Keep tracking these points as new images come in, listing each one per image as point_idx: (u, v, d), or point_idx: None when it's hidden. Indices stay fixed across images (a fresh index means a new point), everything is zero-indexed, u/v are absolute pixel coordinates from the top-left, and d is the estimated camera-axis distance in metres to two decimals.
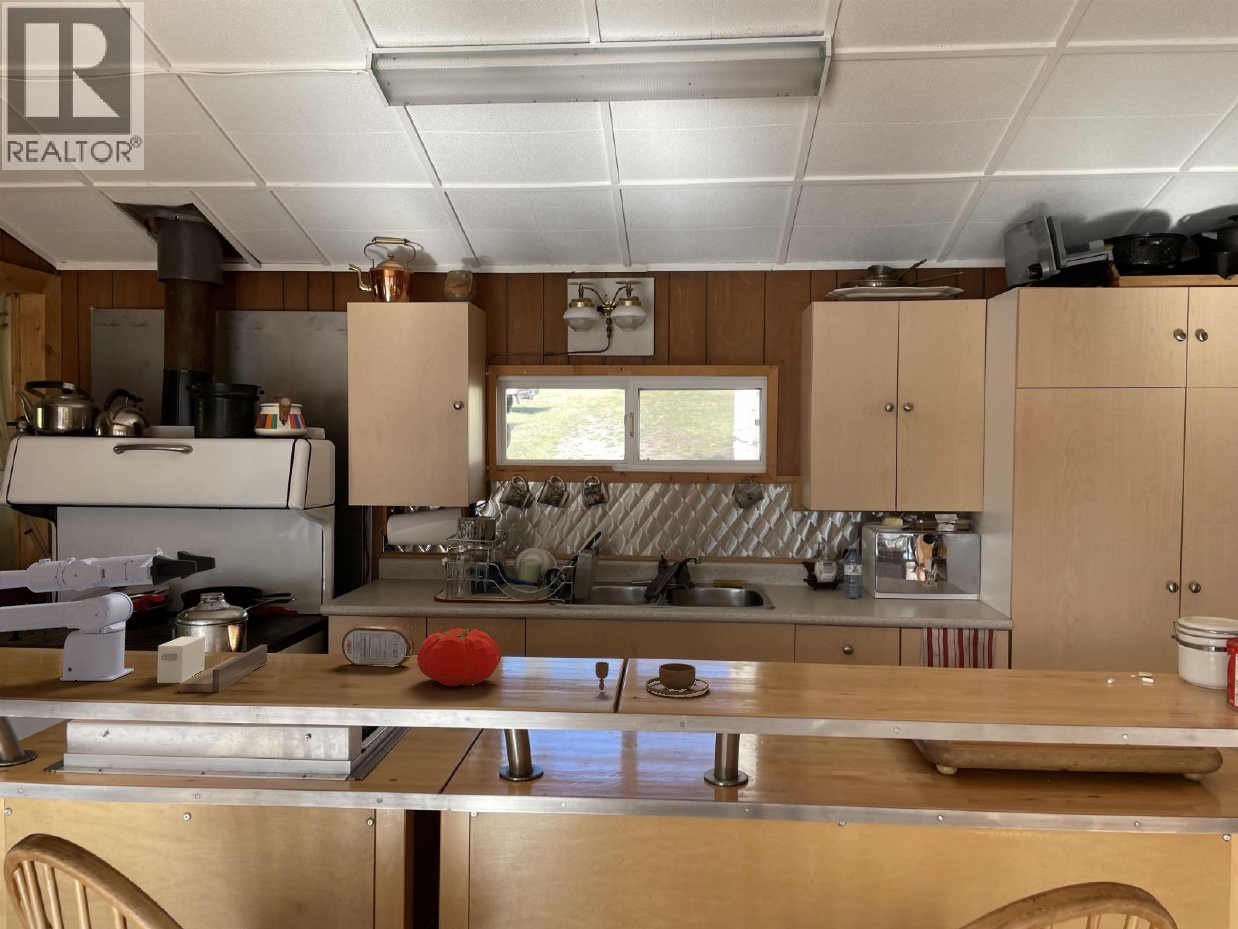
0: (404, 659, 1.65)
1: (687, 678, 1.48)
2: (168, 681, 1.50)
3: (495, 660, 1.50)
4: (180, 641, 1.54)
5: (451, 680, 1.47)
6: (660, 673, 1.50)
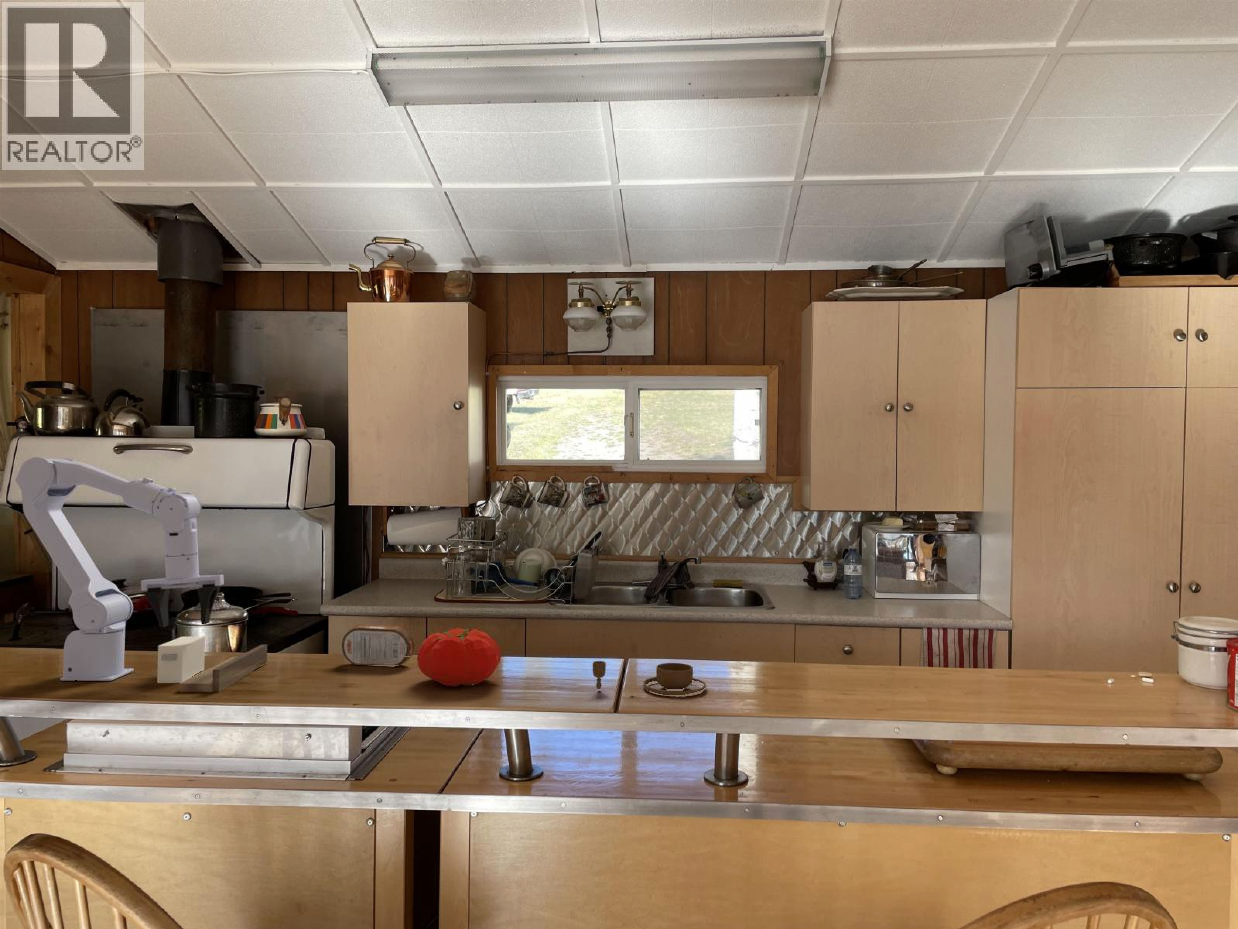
0: (404, 659, 1.65)
1: (684, 678, 1.48)
2: (168, 681, 1.50)
3: (495, 660, 1.50)
4: (180, 641, 1.54)
5: (451, 680, 1.47)
6: (657, 672, 1.50)
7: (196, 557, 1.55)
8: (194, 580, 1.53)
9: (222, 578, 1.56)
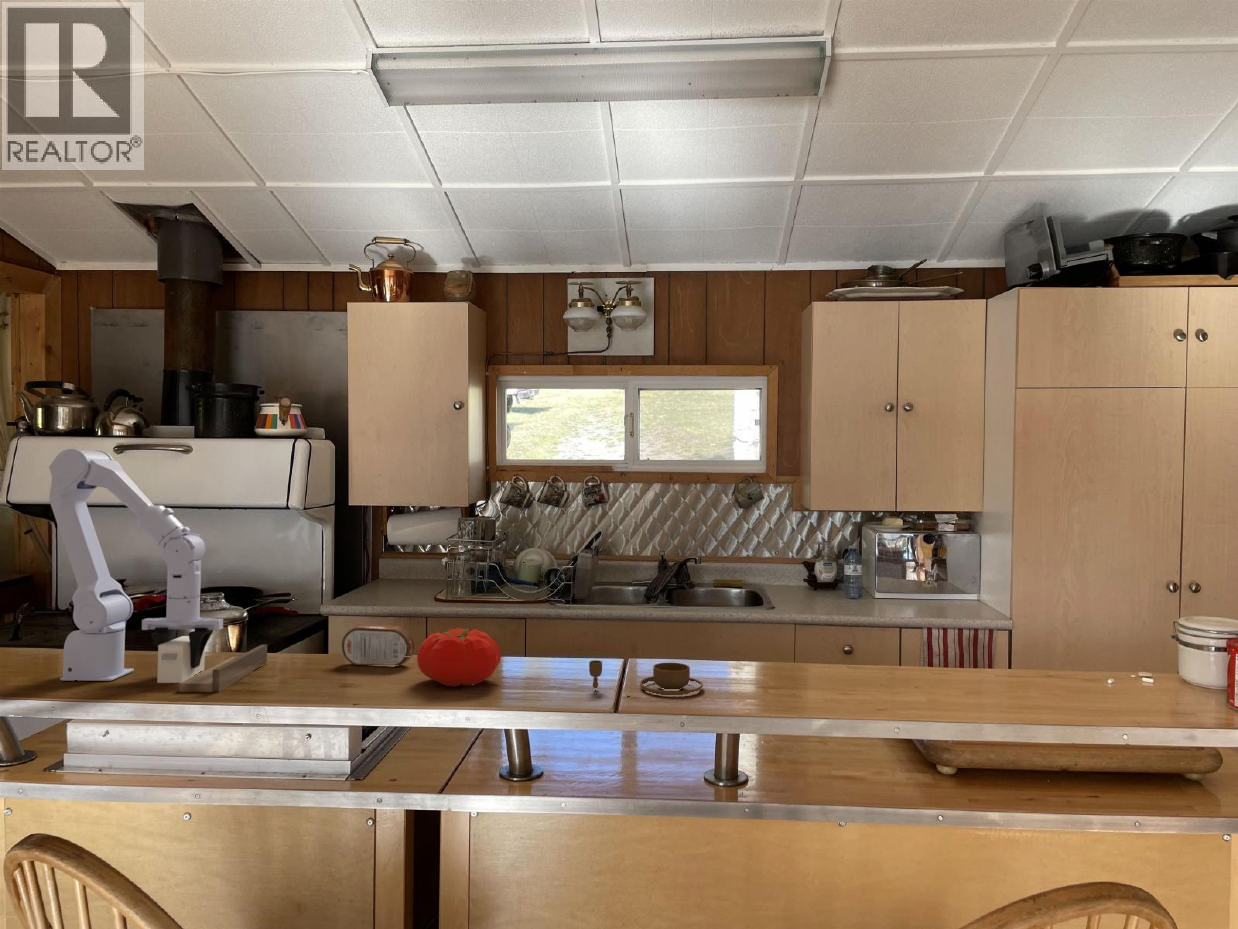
0: (404, 659, 1.65)
1: (681, 678, 1.48)
2: (168, 680, 1.50)
3: (495, 660, 1.50)
4: (180, 640, 1.54)
5: (451, 680, 1.47)
6: (654, 672, 1.50)
7: (197, 600, 1.55)
8: (193, 624, 1.53)
9: (221, 622, 1.55)
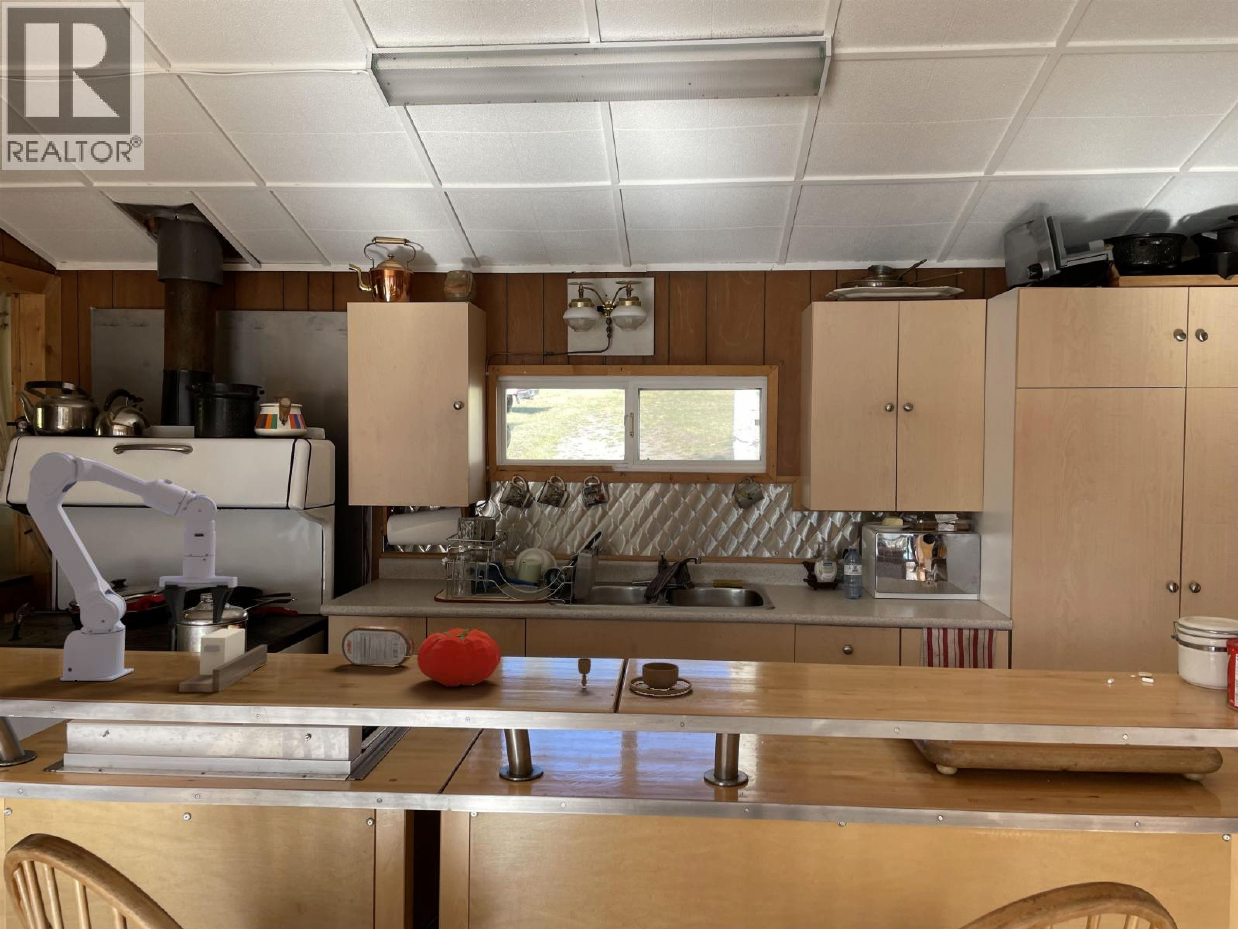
0: (404, 659, 1.65)
1: (667, 677, 1.48)
2: (210, 673, 1.50)
3: (495, 660, 1.50)
4: (221, 633, 1.55)
5: (451, 680, 1.47)
6: (642, 671, 1.51)
7: (212, 558, 1.61)
8: (209, 580, 1.59)
9: (236, 580, 1.62)
